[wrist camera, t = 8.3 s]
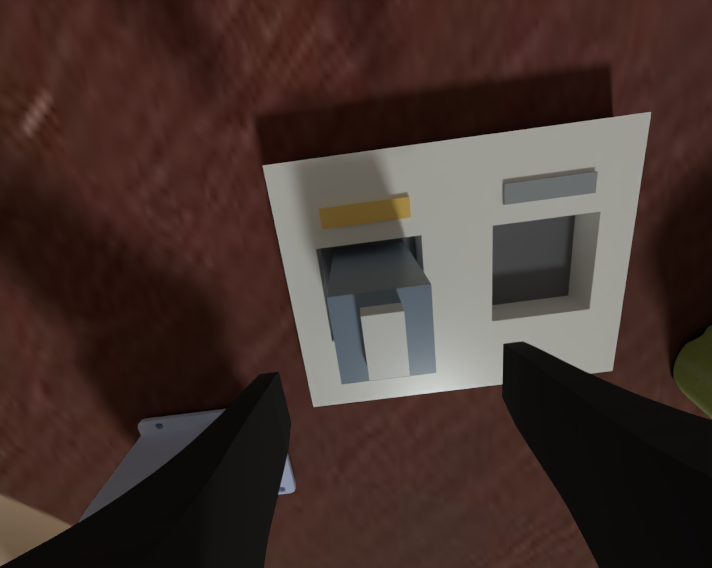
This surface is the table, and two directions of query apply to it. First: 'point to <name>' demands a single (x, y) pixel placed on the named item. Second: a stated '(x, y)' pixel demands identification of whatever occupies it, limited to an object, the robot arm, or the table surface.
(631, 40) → the table surface
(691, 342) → the plant pot
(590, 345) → the socket panel
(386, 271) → the plug
